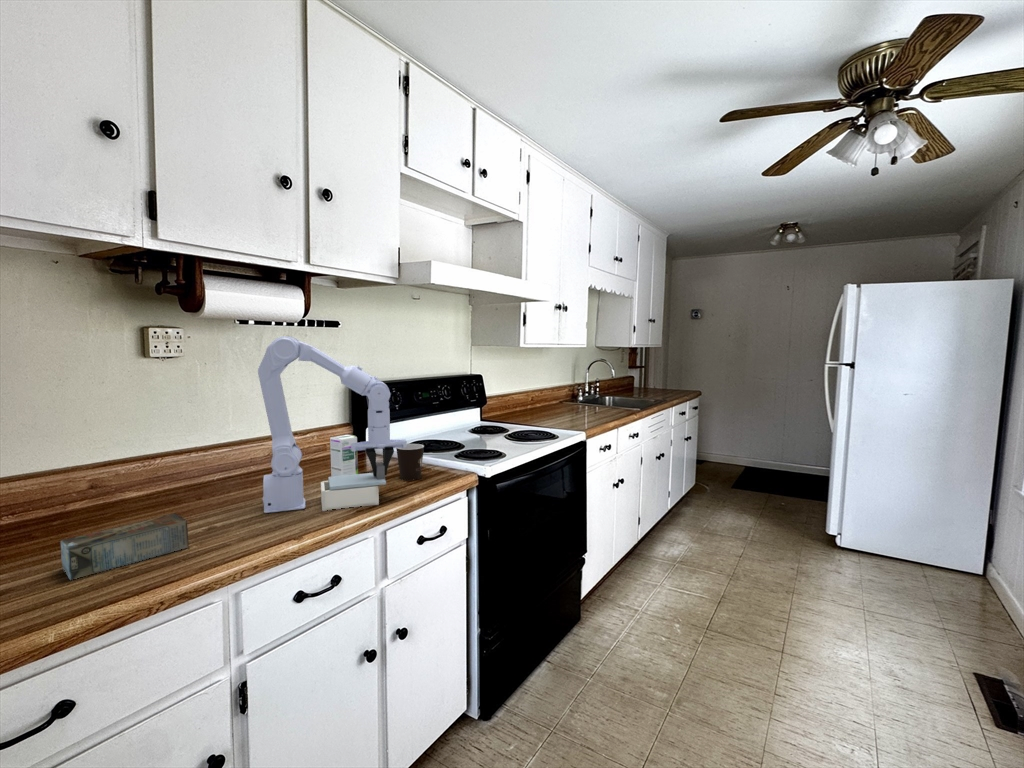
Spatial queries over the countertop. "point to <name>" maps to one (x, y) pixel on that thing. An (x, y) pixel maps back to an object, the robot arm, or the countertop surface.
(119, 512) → the countertop surface
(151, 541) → the beverage carton
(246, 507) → the countertop surface
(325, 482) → the carton
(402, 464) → the coffee mug
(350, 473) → the syrup box
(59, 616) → the countertop surface
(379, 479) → the carton lid
